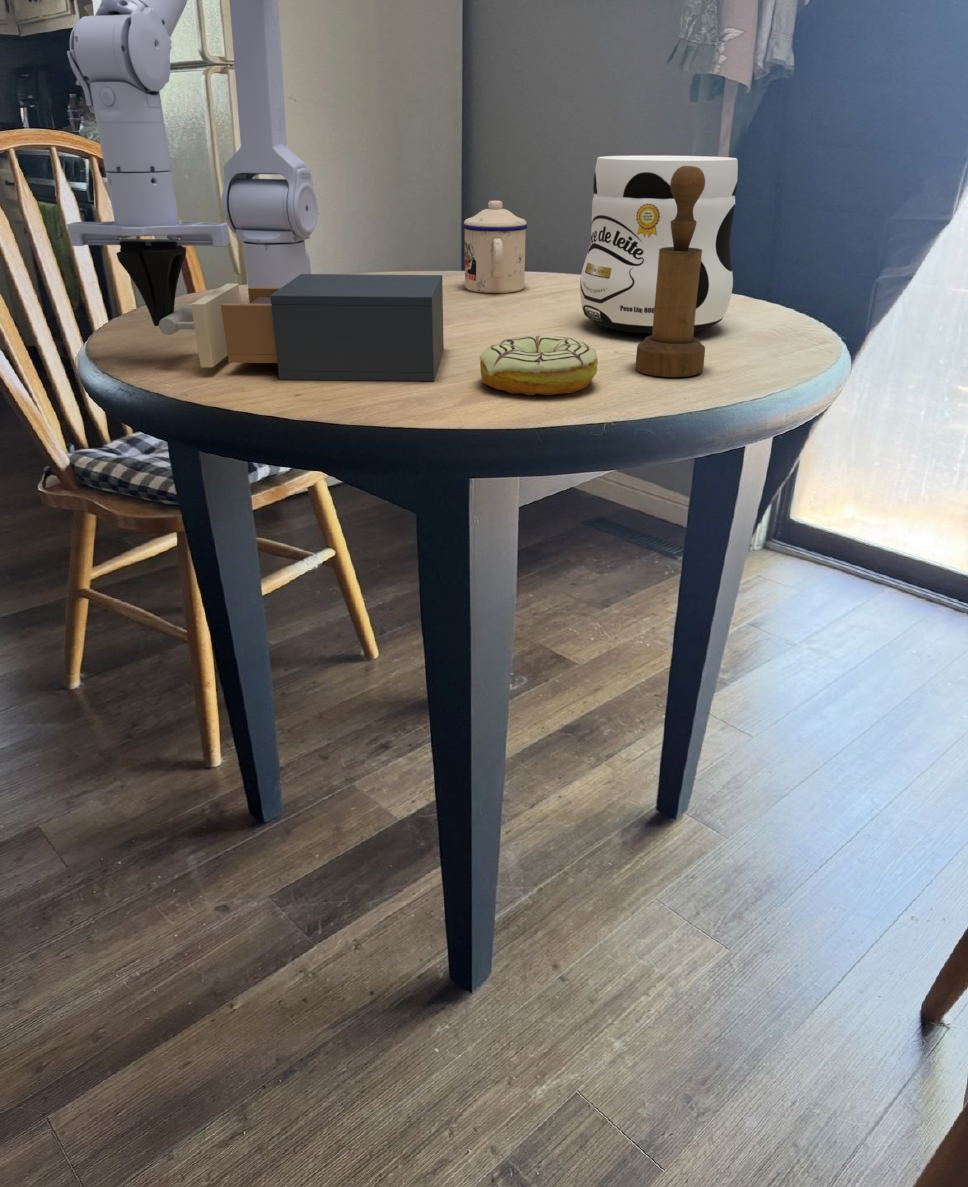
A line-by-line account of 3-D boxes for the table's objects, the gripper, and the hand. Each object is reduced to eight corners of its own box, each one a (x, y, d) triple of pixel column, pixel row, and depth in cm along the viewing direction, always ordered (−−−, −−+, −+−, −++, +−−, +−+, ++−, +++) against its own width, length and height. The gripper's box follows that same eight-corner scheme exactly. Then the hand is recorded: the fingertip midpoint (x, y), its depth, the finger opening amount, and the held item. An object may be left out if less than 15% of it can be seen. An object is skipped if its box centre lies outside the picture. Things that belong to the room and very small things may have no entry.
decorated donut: (482, 369, 86) (482, 330, 84) (592, 371, 85) (594, 331, 83) (476, 398, 77) (476, 355, 75) (599, 400, 76) (602, 357, 74)
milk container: (554, 334, 100) (561, 158, 92) (608, 308, 114) (618, 154, 105) (703, 350, 93) (726, 162, 84) (742, 321, 107) (765, 157, 98)
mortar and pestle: (656, 358, 90) (675, 163, 81) (714, 368, 86) (740, 165, 78) (622, 371, 85) (638, 166, 77) (682, 382, 82) (706, 168, 73)
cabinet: (279, 379, 82) (269, 295, 78) (307, 348, 93) (300, 273, 90) (434, 381, 82) (431, 296, 78) (443, 350, 93) (442, 275, 89)
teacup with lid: (462, 283, 131) (461, 198, 125) (522, 283, 131) (524, 198, 126) (465, 298, 120) (464, 205, 115) (530, 297, 121) (533, 205, 115)
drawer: (156, 366, 83) (145, 303, 80) (195, 340, 93) (186, 283, 90) (342, 369, 82) (338, 305, 79) (361, 342, 92) (357, 284, 89)
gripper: (39, 173, 76) (73, 331, 83) (203, 174, 76) (225, 333, 83) (75, 169, 83) (104, 317, 89) (227, 170, 82) (245, 318, 89)
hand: (164, 324), depth 86 cm, fingers closed
